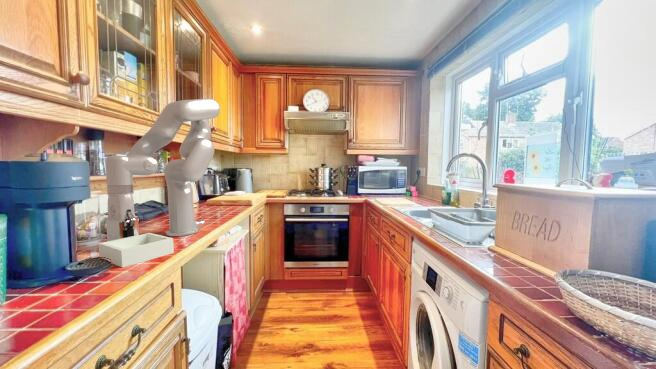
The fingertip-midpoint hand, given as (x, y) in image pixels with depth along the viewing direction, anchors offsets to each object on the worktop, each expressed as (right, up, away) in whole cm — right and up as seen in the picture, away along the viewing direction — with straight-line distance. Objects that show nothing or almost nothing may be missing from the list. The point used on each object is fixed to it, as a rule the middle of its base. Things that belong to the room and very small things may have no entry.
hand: (123, 238), depth 100 cm
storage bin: (+12, -4, -10) cm, 17 cm away
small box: (0, -3, 0) cm, 3 cm away
